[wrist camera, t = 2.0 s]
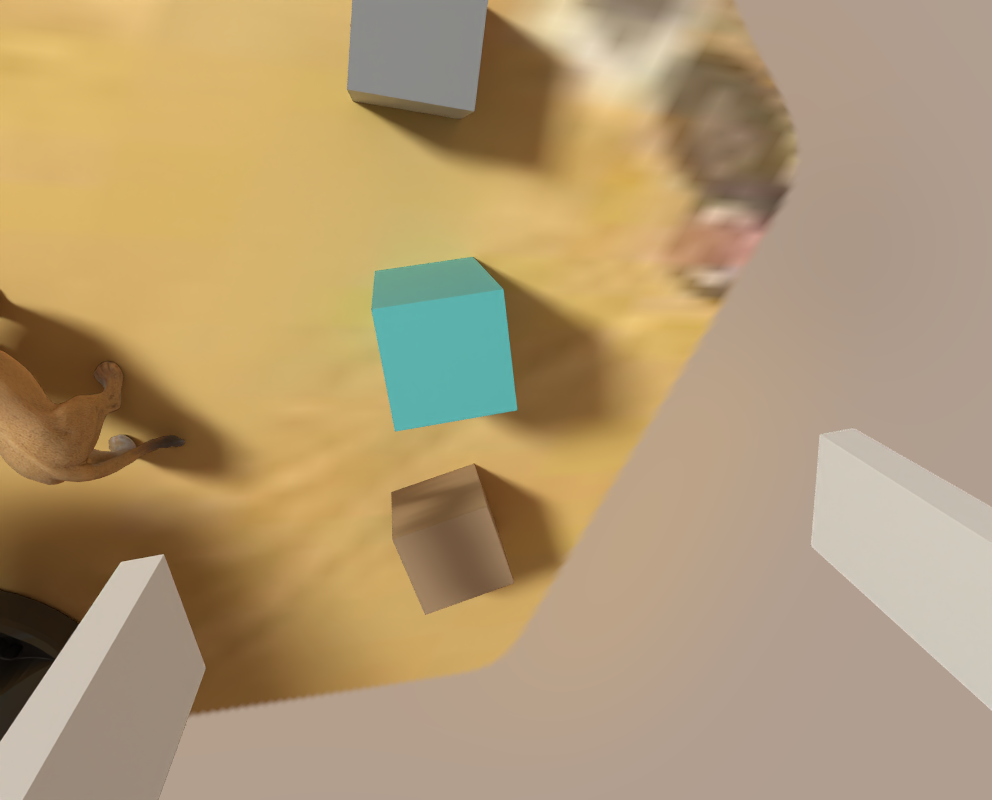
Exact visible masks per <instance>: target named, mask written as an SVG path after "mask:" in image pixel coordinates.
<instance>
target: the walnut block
mask: <svg viewBox="0 0 992 800" xmlns="http://www.w3.org/2000/svg"><path fill="white" fill-rule="evenodd" d="M391 493H392V538H393V542H394V544H395V547H396V549H397V551H398V554H399V556H400V558H401V560H402V563H403V565H404V567H405V570H406V572H407V574H408V576H409V579H410V581H411V583H412V586H413V588H414V590H415V593H416V595H417V597H418V599H419V602H420V604H421V606H422V609H423V611H424V613H425V615H426V614H429V613H432V612H435V611H438V610H440V609H443V608H446V607H449V606H452V605H454V604H457V603H460V602H463V601H466V600H468V599H471V598H474V597H477V596H480V595H482V594H485V593H488V592H491V591H493V590H496V589H499V588H502V587H505V586H507V585H510V584H513V583H514V581H513V577H512V574H511V571H510V568H509V564H508V561H507V558H506V555H505V551H504V548H503V545H502V542H501V538H500V535H499V532H498V529H497V526H496V524H495V521H494V518H493V515H492V512H491V509H490V507H489V504H488V501H487V498H486V495H485V492H484V490H483V487H482V484H481V481H480V478H479V475H478V473H477V470H476V467H475V464H472V465H469V466H466V467H463V468H460V469H457V470H454V471H451V472H449V473H446V474H443V475H440V476H437V477H434V478H431V479H428V480H425V481H423V482H420V483H417V484H414V485H411V486H408V487H405V488H402V489H400V490H397V491H394V492H391Z"/></svg>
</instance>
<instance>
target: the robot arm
mask: <svg viewBox="0 0 992 800" xmlns="http://www.w3.org/2000/svg"><path fill="white" fill-rule="evenodd" d="M811 546H812V547H813V548H814V549H815V550H816V551H817V552H818V553H819V554H820V555H821V556H823V557H824V558H825V559H826V560H827V561H828V562H829V563H830V564H831V565H832V566H834V567H835V568H836V569H837V570H838V571H839V572H840V573H841V574H842V575H844V576H845V577H846V578H847V579H848V580H849V581H850V582H851V583H852V584H853V585H855V587H857V588H858V589H859V590H860V591H861V592H862V593H863V594H864V595H865V596H866V597H868V598H869V599H870V600H871V601H872V602H873V603H874V604H875V605H876V606H877V607H879V608H880V609H881V610H882V611H883V612H884V613H885V614H886V615H887V616H889V617H890V618H891V619H892V620H893V621H894V622H895V623H896V624H897V625H898V626H899V627H900V628H902V629H903V630H904V631H905V632H906V633H907V634H908V635H909V636H910V637H912V638H913V639H914V640H915V641H916V642H917V643H918V644H919V645H920V646H921V647H923V648H924V649H925V650H926V651H927V652H928V653H929V654H930V655H931V656H932V657H933V658H934V659H936V660H937V661H938V662H939V663H940V664H941V665H942V666H943V667H944V668H945V669H947V670H948V671H949V672H950V673H951V674H952V675H953V676H954V677H955V678H956V679H958V680H959V681H960V682H961V683H962V684H963V685H964V686H965V687H966V688H968V689H969V690H970V691H971V692H972V693H973V694H974V695H975V696H976V697H977V698H978V699H979V700H981V701H982V702H983V703H984V704H985V705H986V706H987V707H988V708H989V709H991V710H992V507H991V506H989V505H987V504H986V503H984V502H982V501H980V500H979V499H977V498H975V497H973V496H971V495H970V494H968V493H966V492H965V491H963V490H961V489H959V488H958V487H956V486H954V485H952V484H950V483H949V482H947V481H945V480H944V479H942V478H940V477H938V476H937V475H935V474H933V473H931V472H930V471H928V470H926V469H924V468H923V467H921V466H919V465H917V464H916V463H914V462H912V461H911V460H909V459H907V458H905V457H904V456H902V455H900V454H898V453H896V452H895V451H893V450H891V449H890V448H888V447H886V446H884V445H883V444H881V443H879V442H877V441H876V440H874V439H872V438H870V437H869V436H867V435H865V434H863V433H861V432H860V431H858V430H856V429H855V428H852V429H846V430H841V431H835V432H830V433H825V434H820V439H819V453H818V464H817V477H816V490H815V502H814V515H813V527H812V539H811ZM205 670H206V667H205V664H204V661H203V658H202V656H201V653H200V650H199V648H198V645H197V642H196V640H195V637H194V634H193V631H192V629H191V626H190V623H189V621H188V618H187V615H186V612H185V610H184V607H183V604H182V602H181V599H180V596H179V594H178V591H177V588H176V585H175V583H174V580H173V577H172V575H171V572H170V569H169V566H168V564H167V561H166V558H165V556H164V554H162V555H156V556H151V557H145V558H140V559H134V560H129V561H123V562H121V563H120V564H119V566H118V567H117V569H116V570H115V572H114V573H113V575H112V576H111V578H110V579H109V581H108V582H107V583H106V585H105V586H104V588H103V589H102V591H101V592H100V594H99V595H98V597H97V598H96V600H95V601H94V603H93V604H92V606H91V607H90V609H89V610H88V612H87V613H86V615H85V616H84V618H83V619H82V621H81V622H80V624H78V623H76V622H75V621H74V620H72V619H70V618H69V617H67V616H66V615H64V614H62V613H61V612H59V611H57V610H55V609H53V608H51V607H49V606H47V605H45V604H42V603H40V602H38V601H35V600H32V599H29V598H26V597H23V596H20V595H17V594H13V593H9V592H4V591H0V800H158V799H159V796H160V794H161V791H162V788H163V785H164V782H165V780H166V777H167V774H168V771H169V768H170V766H171V763H172V760H173V758H174V755H175V752H176V750H177V747H178V744H179V741H180V738H181V736H182V733H183V730H184V727H185V725H186V722H187V719H188V716H189V714H190V711H191V708H192V705H193V703H194V700H195V697H196V694H197V692H198V689H199V686H200V683H201V681H202V678H203V675H204V672H205Z"/></svg>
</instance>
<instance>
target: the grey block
mask: <svg viewBox="0 0 992 800" xmlns="http://www.w3.org/2000/svg"><path fill="white" fill-rule="evenodd" d="M487 4H488V0H352V16H351V33H350V50H349V66H348V83H347V90H348V92H349V94H350V96H351V98H352V100H353V101H355V102H361V103H367V104H373V105H379V106H385V107H391V108H397V109H403V110H408V111H414V112H420V113H426V114H432V115H438V116H444V117H450V118H456V119H462V118H464V117H466V116H467V115H469V114H471V113H473V112H474V111H475V103H476V95H477V87H478V78H479V70H480V62H481V54H482V45H483V37H484V29H485V21H486V12H487Z"/></svg>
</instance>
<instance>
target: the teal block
mask: <svg viewBox="0 0 992 800" xmlns="http://www.w3.org/2000/svg"><path fill="white" fill-rule="evenodd" d="M371 310H372V315H373V320H374V325H375V330H376V336H377V341H378V346H379V351H380V356H381V361H382V366H383V372H384V377H385V382H386V387H387V392H388V397H389V403H390V408H391V413H392V418H393V423H394V428H395V431H401V430H407V429H412V428H418V427H424V426H430V425H436V424H441V423H447V422H453V421H459V420H464V419H470V418H476V417H482V416H487V415H493V414H499V413H505V412H510V411H516V410H517V403H516V394H515V385H514V376H513V368H512V359H511V350H510V342H509V333H508V324H507V315H506V307H505V298H504V289H503V288H502V287H501V286H500V285H499V284H498V283H497V282H496V281H495V280H494V279H493V278H492V276H491V275H490V274H489V273H488V272H487V271H486V270H485V269H484V268H483V267H482V266H481V265H480V264H479V263H478V262H477V260H476V259H475V258H474V257H469V258H462V259H455V260H448V261H441V262H434V263H427V264H420V265H414V266H407V267H400V268H393V269H386V270H379V271H375V277H374V287H373V298H372V308H371Z"/></svg>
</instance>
